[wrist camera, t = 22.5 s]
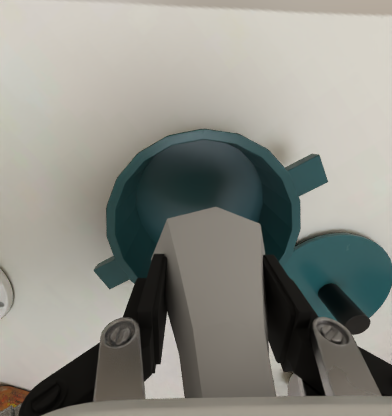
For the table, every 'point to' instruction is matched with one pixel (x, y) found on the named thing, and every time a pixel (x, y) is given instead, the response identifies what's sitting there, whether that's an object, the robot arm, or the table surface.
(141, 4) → the table surface
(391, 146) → the table surface
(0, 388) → the tin
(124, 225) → the pot
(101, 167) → the table surface
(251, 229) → the flask
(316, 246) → the pot lid
